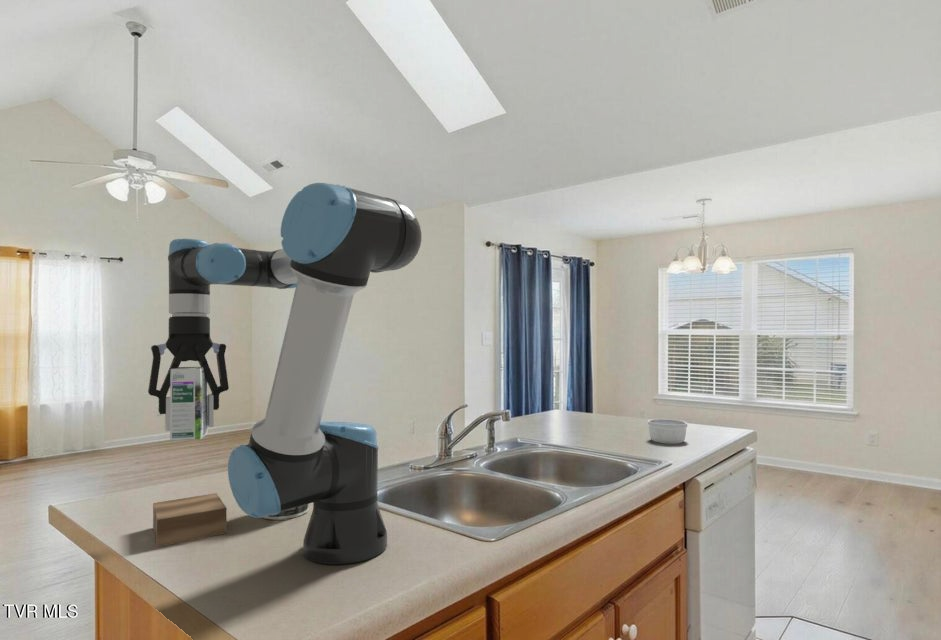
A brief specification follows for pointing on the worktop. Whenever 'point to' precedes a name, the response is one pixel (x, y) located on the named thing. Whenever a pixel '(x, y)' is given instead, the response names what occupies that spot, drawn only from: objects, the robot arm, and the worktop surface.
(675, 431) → the ramekin
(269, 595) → the worktop surface
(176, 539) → the plinth
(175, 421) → the syrup box
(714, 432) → the worktop surface
